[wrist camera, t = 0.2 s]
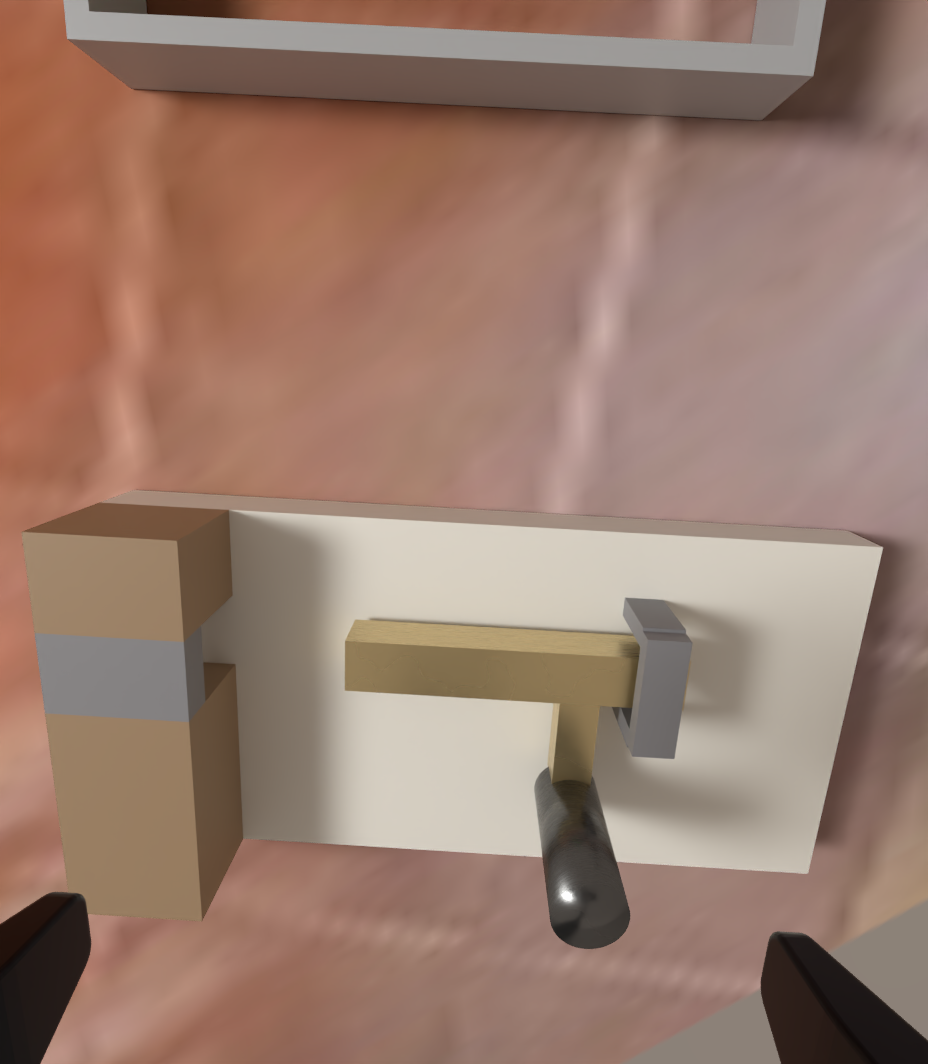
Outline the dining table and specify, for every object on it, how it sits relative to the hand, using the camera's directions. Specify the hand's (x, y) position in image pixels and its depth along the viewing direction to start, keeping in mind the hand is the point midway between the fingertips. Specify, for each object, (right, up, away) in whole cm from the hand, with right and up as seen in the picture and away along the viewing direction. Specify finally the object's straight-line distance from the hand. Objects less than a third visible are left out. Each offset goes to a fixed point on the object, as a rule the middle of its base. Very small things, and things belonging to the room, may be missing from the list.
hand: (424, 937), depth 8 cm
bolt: (+2, -1, +13) cm, 13 cm away
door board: (+1, 0, +15) cm, 15 cm away
